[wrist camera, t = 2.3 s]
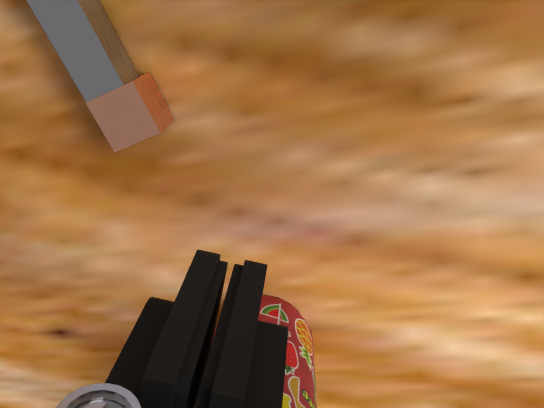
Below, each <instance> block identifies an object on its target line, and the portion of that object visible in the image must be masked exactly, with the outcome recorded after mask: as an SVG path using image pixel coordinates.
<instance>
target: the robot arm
mask: <svg viewBox="0 0 544 408" xmlns="http://www.w3.org/2000/svg"><path fill="white" fill-rule="evenodd" d="M227 265H228V262H224V261H220V254H216V253H211V252H207V251H202V250H197V252H196V254H195V256H194V258H193V261H192V263H191V265H190V268H189V270H188V272H187V274H186V277H185V279H184V281H183V284H182V286H181V288H180V291H179V293H178V295H177V297H176V300H175V302H172V301H168V300H163V299H159V298H154V297H151V298H149V300H148V301H147V303H146V305H145V307H144V309H143V311H142V313H141V315H140V316H139V318H138V320H137V322H136V324H135V326H134V328H133V330H132V332H131V334H130V336H129V338H128V340H127V342H126V343H125V345H124V347H123V349H122V351H121V353H120V355H119V357H118V359H117V361H116V363H115V365H114V367H113V369H112V370H111V372H110V374H109V376H108V378H107V380H106V382H105V383H100V384H92V385H88V386H84V387H81V388H79V389H77V390H75V391H74V392H72V393H70V394H69V395H67V396H66V397H65V398H64V399H63V400H62V401H61V402H60V403H59V404H58V405H57V406H56V408H195V407H196V408H282V404H283V391H284V379H285V366H286V354H287V341H288V327H287V326H283V325H278V324H273V323H269V322H264V321H260V320H258V317H259V311H260V305H261V299H262V293H263V288H264V282H265V276H266V270H267V265H266V264H262V263H257V262H253V261H248V260H245V262H244V266H242V265H238V264H235V265H234V268H233V272H232V275H231V279H230V282H229V286H228V290H227V293H226V297H225V300H224V304H223V307H222V311H221V314H220V318H219V321H218V325H217V328H216V332H215V327H216V322H217V317H218V312H219V307H220V301H221V296H222V291H223V286H224V281H225V275H226V270H227ZM214 332H215V335H214ZM213 338H214V339H213Z"/></svg>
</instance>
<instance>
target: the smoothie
mask: <svg viewBox="0 0 544 408" xmlns="http://www.w3.org/2000/svg"><path fill="white" fill-rule="evenodd" d="M258 320H260V321H264V322H269V323H273V324H278V325H283V326H287V327H288V341H287V354H286V366H285V379H284V391H283V404H282V408H317V400H316V385H315V370H314V354H313V340H312V334H311V330H310V328H309V326H308V325H307V323H306V321H305V319H303V318H302V317H301V315H300V313H299V311H298V310H296V309H295V308H294V307H293V306H292V305H291V304H290V303H288V302H286V301H284V300H282V299H280V298H276V297H271V296H262V299H261V305H260V311H259V317H258ZM217 325H218V324H217ZM216 328H217V326H216ZM215 332H216V329H215ZM215 332H214V335H215ZM213 339H214V338H213ZM195 408H196V407H195Z"/></svg>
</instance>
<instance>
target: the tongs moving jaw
mask: <svg viewBox="0 0 544 408" xmlns="http://www.w3.org/2000/svg"><path fill="white" fill-rule="evenodd" d="M26 1H27V2H28V4H29V6H30V7H31V9H32V11H33V13H34V14H35V16H36V18H37V19H38V21H39V23H40V24H41V26H42V28H43V30H44V31H45V33H46V35H47V36H48V38H49V40H50V42H51V43H52V45H53V47H54V48H55V50H56V52H57V53H58V55H59V57H60V59H61V60H62V62H63V64H64V65H65V67H66V69H67V71H68V72H69V74H70V76H71V77H72V79H73V81H74V82H75V84H76V86H77V88H78V89H79V91H80V93H81V94H82V96H83V98H84V99H85V101H86V105H87V106H88V108H89V110H90V112H91V113H92V115H93V117H94V118H95V120H96V122H97V123H98V125H99V127H100V129H101V130H102V132H103V134H104V135H105V137H106V139H107V140H108V142H109V144H110V146H111V147H112V149H113V151H114V152H117V151H119V150H122V149H124V148H126V147H129V146H131V145H134V144H136V143H138V142H141V141H143V140H145V139H148V138H150V137H153V136H155V135H157V134H160V133H161V132H162V131H163V130H164V129H165V128H166V127H167V126H168V125H169V124H170V123H171V122H172V121H173V120H174V119H173V117H172V115H171V113H170V111H169V109H168V107H167V105H166V103H165V101H164V100H163V98H162V96H161V94H160V92H159V90H158V88H157V86H156V84H155V82H154V80H153V78H152V77H151V75H150V73H149V72H147V73H145V74H143V75H140V76H139V74H138V73H137V71H136V69H135V67H134V65H133V63H132V61H131V59H130V58H129V56H128V54H127V52H126V50H125V48H124V46H123V44H122V42H121V41H120V39H119V37H118V35H117V33H116V31H115V29H114V27H113V25H112V24H111V22H110V20H109V18H108V16H107V14H106V12H105V10H104V9H103V7H102V5H101V3H100V1H99V0H26Z"/></svg>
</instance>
